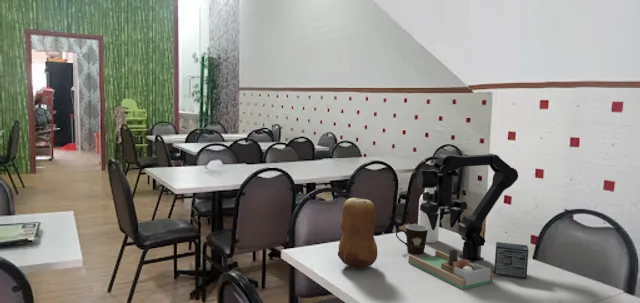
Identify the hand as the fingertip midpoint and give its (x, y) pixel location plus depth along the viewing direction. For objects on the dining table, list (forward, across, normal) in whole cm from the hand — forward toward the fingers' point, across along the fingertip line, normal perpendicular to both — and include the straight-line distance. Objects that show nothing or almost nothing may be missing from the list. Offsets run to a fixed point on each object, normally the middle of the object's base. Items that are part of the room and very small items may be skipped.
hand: (442, 228), depth 183 cm
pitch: (+12, +7, +12) cm, 18 cm away
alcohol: (+12, -12, -21) cm, 27 cm away
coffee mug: (+12, +4, -12) cm, 18 cm away
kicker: (+11, +7, +14) cm, 19 cm away
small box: (+12, -12, +22) cm, 28 cm away
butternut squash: (+12, +34, -6) cm, 37 cm away
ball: (+9, +7, +20) cm, 23 cm away
